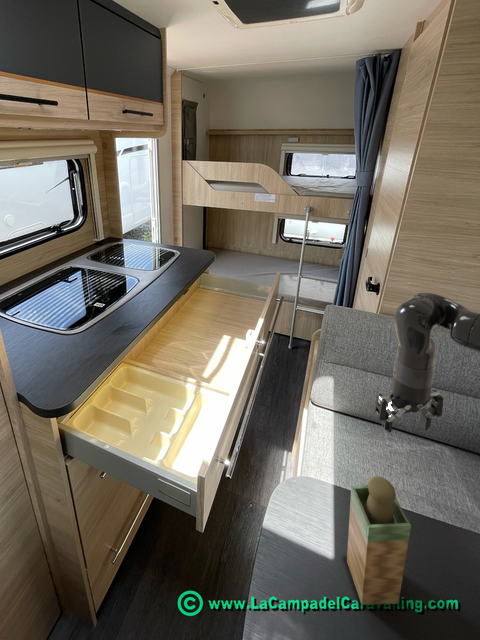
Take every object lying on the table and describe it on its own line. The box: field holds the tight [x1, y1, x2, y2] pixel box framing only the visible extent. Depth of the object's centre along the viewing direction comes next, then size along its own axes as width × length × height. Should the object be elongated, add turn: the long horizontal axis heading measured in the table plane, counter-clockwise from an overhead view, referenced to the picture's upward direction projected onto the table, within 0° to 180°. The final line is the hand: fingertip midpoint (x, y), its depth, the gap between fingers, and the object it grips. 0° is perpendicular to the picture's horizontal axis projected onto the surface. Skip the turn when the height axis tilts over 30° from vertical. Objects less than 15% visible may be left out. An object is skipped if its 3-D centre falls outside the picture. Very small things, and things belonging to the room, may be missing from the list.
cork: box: [364, 476, 397, 525], centre depth 71 cm, size 6×6×11 cm
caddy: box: [346, 484, 412, 606], centre depth 77 cm, size 9×9×30 cm
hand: (405, 428), depth 79 cm, fingers open, 8 cm apart
